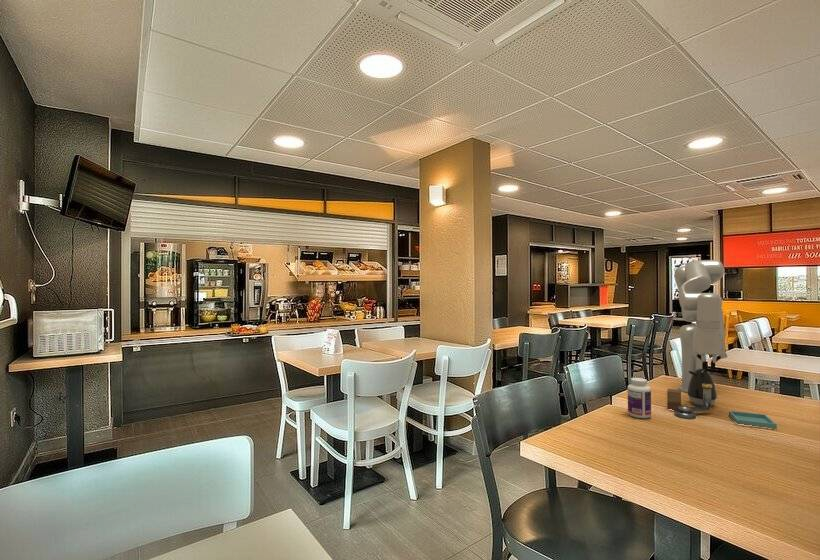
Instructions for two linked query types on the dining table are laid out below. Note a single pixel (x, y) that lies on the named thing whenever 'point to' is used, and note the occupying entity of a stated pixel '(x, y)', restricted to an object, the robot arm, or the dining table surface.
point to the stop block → (673, 399)
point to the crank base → (684, 414)
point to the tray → (752, 419)
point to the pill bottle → (639, 398)
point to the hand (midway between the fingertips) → (708, 371)
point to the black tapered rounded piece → (700, 387)
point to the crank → (706, 401)
